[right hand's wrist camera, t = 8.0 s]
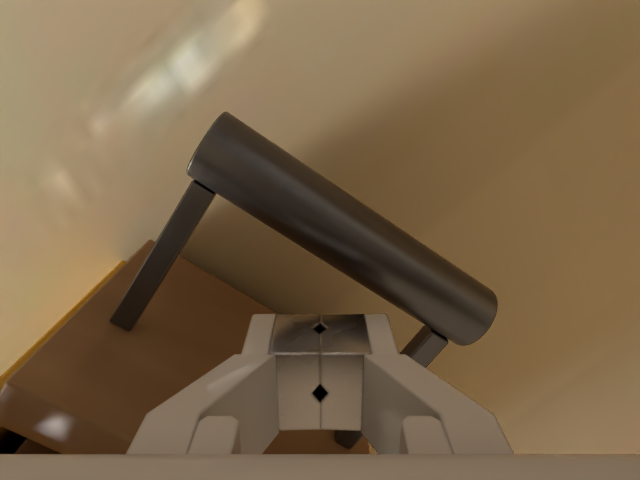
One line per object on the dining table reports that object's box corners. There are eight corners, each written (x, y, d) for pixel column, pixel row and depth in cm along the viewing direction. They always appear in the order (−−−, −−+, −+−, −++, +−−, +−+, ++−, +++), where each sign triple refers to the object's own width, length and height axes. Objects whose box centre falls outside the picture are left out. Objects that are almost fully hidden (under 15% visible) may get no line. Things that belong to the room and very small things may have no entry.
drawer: (238, 88, 14) (150, 104, 7) (458, 241, 16) (579, 384, 9) (12, 472, 20) (-170, 709, 13) (194, 552, 22) (130, 800, 14)
